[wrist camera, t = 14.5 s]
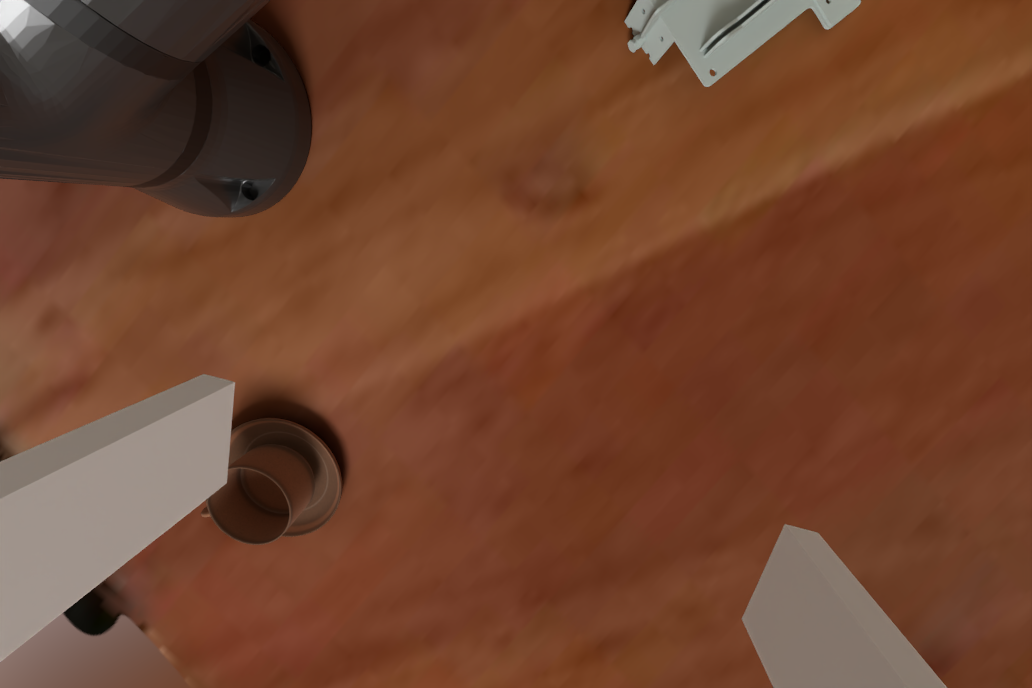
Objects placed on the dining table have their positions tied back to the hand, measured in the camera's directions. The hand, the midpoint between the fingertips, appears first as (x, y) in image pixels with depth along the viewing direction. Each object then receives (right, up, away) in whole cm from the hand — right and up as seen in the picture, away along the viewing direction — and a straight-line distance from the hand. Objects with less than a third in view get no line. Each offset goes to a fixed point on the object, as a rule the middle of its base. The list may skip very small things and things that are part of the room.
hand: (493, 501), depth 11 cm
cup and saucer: (-21, -8, +34) cm, 41 cm away
